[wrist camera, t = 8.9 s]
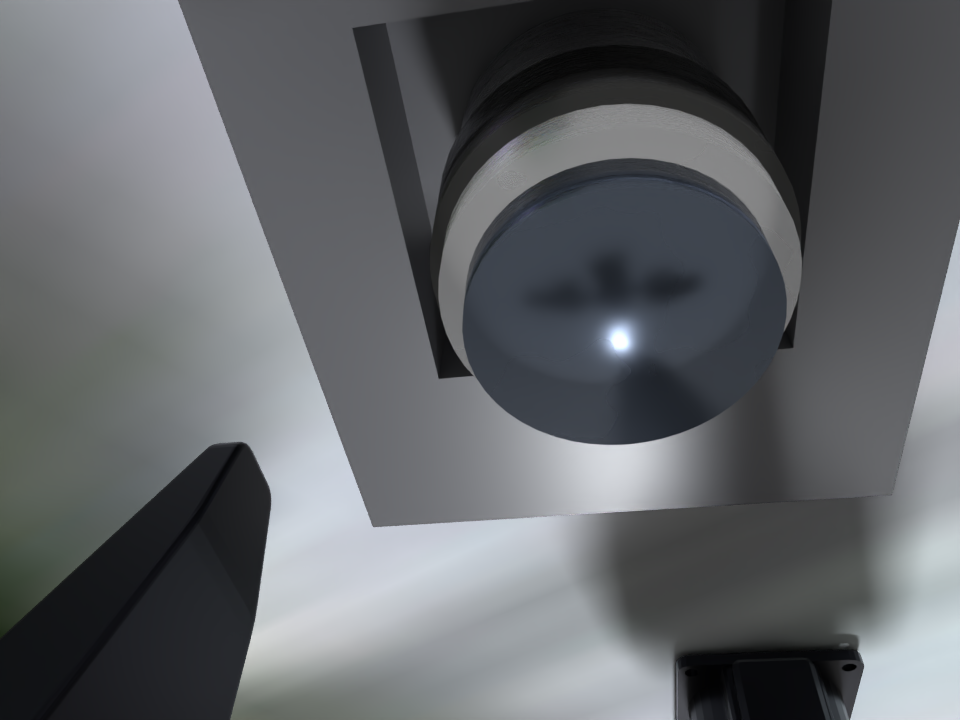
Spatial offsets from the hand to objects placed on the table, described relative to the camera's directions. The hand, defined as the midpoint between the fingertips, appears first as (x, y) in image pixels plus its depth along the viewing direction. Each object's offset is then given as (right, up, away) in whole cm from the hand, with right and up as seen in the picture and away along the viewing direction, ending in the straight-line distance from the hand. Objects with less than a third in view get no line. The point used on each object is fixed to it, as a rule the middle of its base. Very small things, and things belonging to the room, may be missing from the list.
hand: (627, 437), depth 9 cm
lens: (0, +5, +7) cm, 8 cm away
